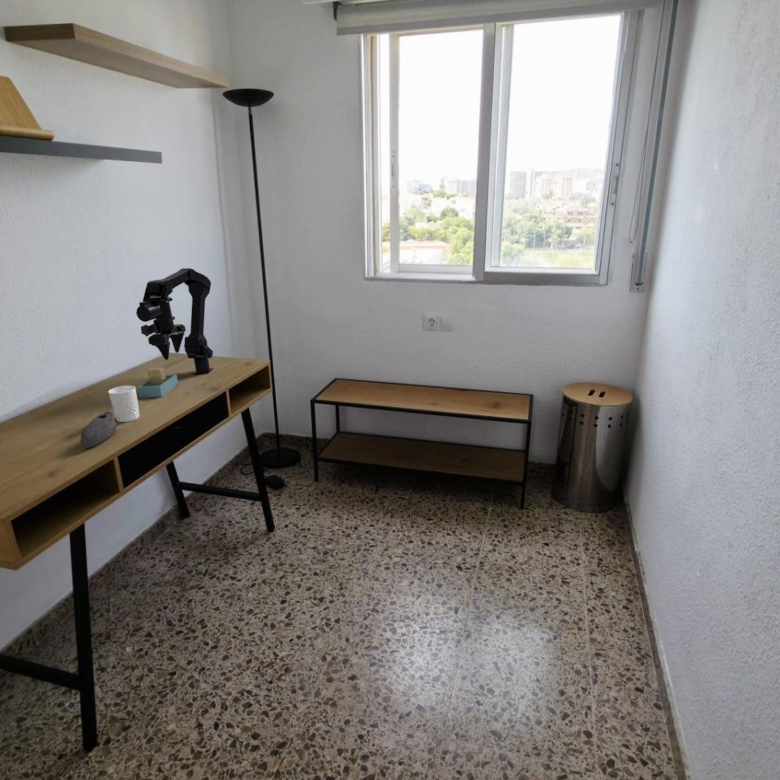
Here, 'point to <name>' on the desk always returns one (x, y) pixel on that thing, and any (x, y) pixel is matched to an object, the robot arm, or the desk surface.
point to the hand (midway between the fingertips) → (172, 356)
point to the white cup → (124, 403)
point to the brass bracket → (156, 376)
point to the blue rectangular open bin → (157, 387)
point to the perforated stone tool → (98, 430)
